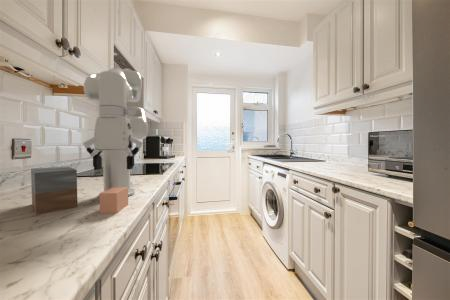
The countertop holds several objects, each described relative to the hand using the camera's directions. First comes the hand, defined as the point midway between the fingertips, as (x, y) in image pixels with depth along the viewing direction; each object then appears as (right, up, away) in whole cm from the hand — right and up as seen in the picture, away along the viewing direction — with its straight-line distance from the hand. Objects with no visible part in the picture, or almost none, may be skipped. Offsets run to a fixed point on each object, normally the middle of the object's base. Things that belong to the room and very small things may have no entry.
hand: (114, 169), depth 64 cm
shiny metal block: (-22, -12, +4) cm, 26 cm away
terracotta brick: (0, -13, +1) cm, 13 cm away
